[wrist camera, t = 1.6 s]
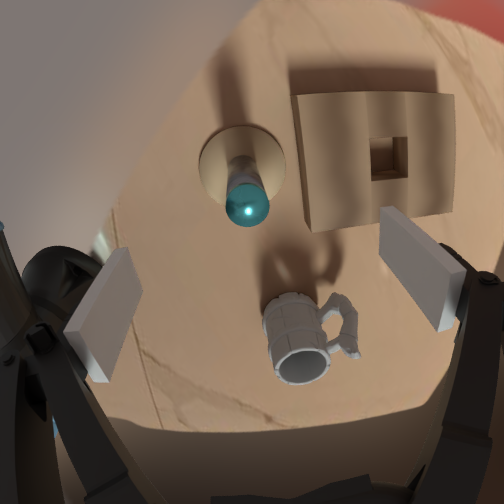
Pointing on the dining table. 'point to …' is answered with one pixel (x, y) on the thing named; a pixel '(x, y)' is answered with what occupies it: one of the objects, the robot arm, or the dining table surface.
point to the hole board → (358, 155)
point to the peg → (245, 193)
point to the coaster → (236, 144)
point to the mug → (307, 335)
